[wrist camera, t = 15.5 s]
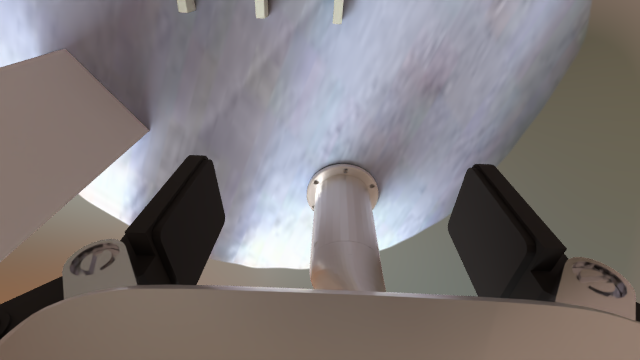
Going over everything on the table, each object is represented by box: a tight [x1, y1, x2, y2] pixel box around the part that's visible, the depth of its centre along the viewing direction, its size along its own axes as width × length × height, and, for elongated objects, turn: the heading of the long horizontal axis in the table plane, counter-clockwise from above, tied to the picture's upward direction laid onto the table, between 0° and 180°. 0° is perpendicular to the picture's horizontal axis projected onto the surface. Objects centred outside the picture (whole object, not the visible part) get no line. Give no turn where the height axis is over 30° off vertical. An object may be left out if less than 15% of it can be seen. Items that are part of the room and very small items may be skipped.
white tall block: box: [0, 49, 149, 262], centre depth 31 cm, size 14×6×30 cm, turn 32°
